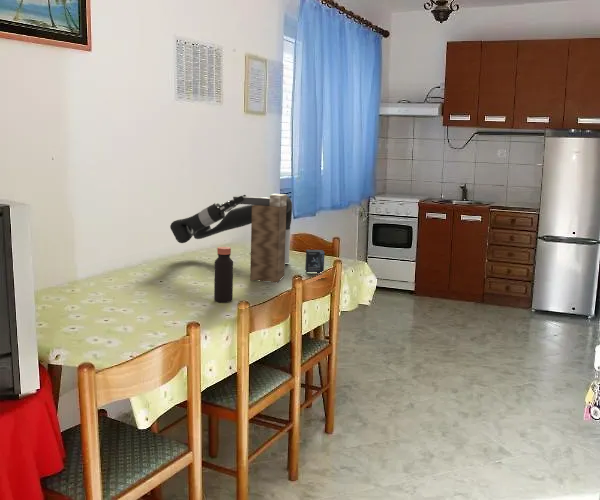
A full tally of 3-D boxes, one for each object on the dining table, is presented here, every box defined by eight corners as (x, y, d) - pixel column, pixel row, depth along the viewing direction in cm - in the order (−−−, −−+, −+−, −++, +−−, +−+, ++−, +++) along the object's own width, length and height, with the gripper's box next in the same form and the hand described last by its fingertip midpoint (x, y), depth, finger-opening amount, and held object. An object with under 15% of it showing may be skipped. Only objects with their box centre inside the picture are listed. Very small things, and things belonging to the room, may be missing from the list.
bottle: (229, 303, 235) (230, 250, 231) (211, 301, 236) (212, 248, 232) (234, 299, 241) (235, 246, 238) (217, 297, 242) (218, 245, 239)
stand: (250, 280, 273) (252, 194, 266) (258, 274, 284) (260, 192, 278) (278, 282, 270) (281, 196, 264) (285, 276, 282) (287, 193, 275)
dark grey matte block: (233, 203, 273) (233, 196, 272) (236, 202, 277) (236, 195, 276) (276, 206, 269) (276, 198, 269) (278, 205, 273) (278, 198, 272)
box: (306, 274, 288) (307, 251, 286) (304, 272, 294) (305, 249, 292) (323, 274, 289) (324, 251, 288) (321, 272, 295) (322, 249, 293)
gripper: (201, 208, 271) (235, 190, 267) (213, 205, 285) (245, 188, 280) (209, 224, 271) (243, 206, 267) (221, 220, 285) (253, 203, 281)
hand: (244, 197), depth 274 cm, fingers closed on dark grey matte block, 4 cm apart
